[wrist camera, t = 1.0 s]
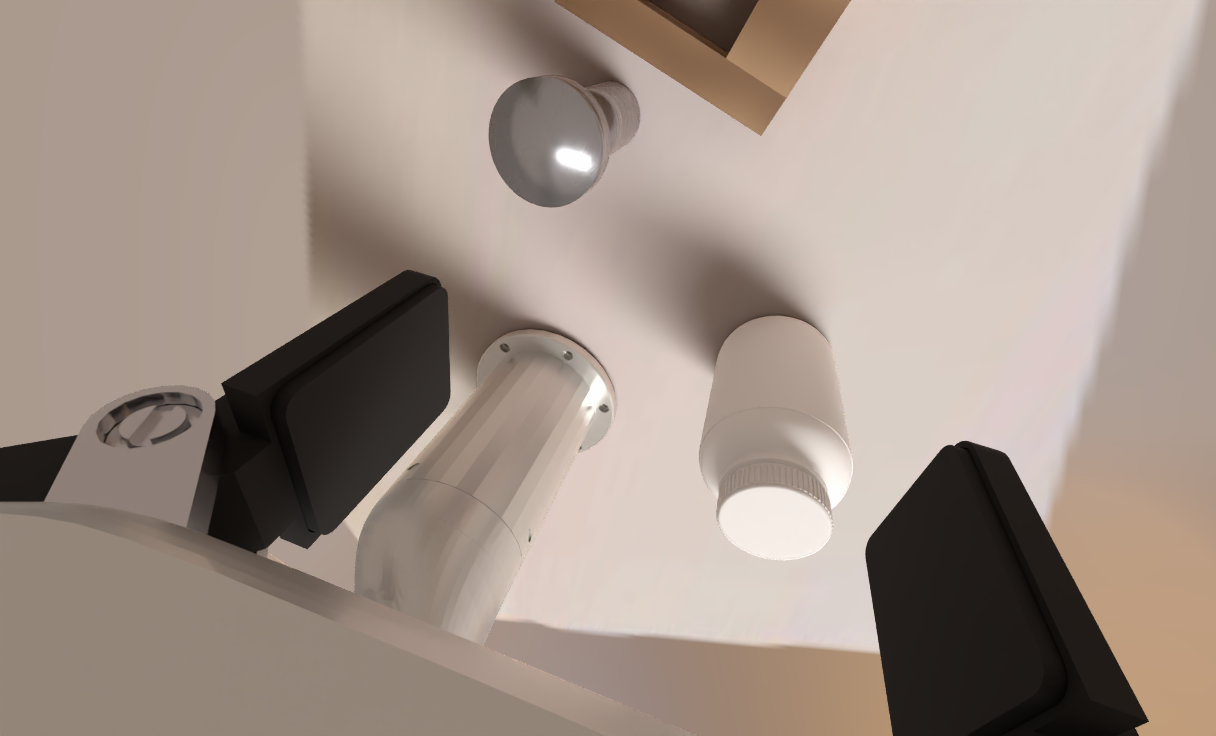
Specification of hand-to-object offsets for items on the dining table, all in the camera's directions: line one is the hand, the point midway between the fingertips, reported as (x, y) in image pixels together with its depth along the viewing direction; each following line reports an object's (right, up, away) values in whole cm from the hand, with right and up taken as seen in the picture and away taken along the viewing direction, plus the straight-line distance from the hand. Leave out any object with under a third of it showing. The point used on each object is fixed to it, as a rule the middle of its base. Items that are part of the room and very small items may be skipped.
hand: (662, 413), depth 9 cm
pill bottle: (+11, +1, +26) cm, 28 cm away
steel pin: (-1, +16, +20) cm, 26 cm away
